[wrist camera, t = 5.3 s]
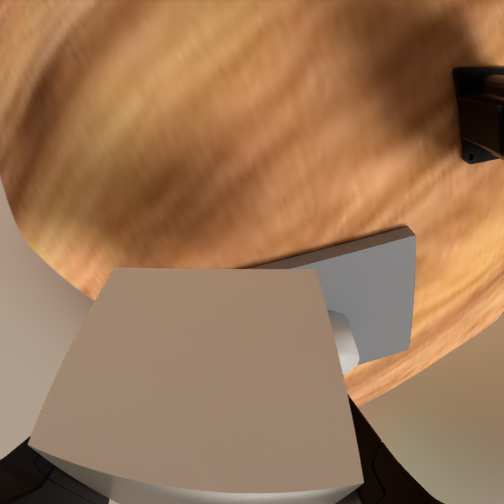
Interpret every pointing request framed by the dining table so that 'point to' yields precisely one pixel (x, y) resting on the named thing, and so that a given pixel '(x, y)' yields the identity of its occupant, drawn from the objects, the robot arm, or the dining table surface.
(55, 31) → the dining table surface
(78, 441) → the cream rectangular block
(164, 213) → the dining table surface
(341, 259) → the grey slotted slab
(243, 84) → the dining table surface
